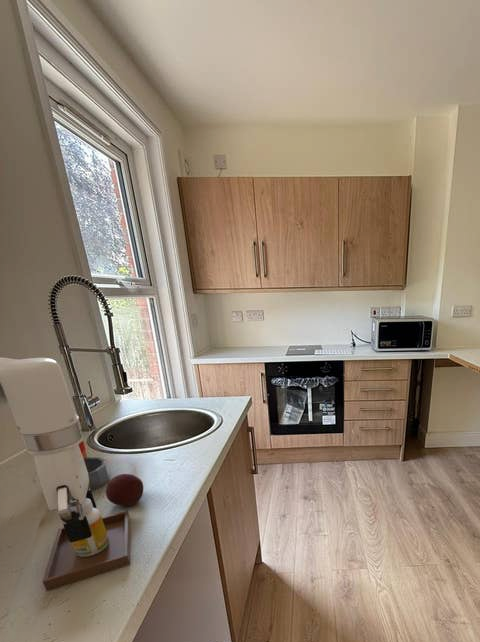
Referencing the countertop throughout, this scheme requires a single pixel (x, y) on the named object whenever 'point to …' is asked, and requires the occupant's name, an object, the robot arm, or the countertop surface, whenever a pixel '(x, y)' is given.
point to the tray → (74, 568)
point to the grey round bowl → (97, 472)
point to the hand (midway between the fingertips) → (84, 523)
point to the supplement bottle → (97, 528)
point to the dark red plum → (124, 489)
